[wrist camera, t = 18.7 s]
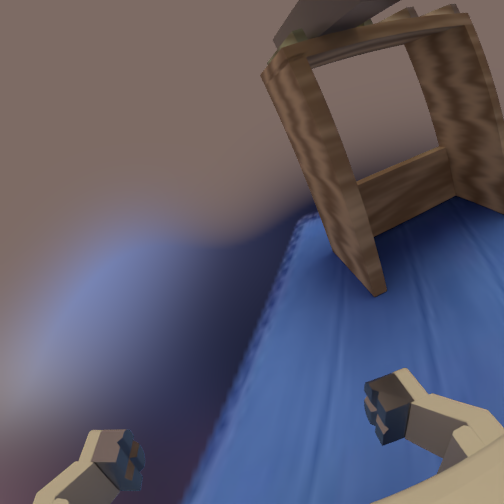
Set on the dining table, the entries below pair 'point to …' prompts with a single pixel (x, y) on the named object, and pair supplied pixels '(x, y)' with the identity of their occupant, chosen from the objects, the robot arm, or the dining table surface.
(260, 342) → the dining table surface
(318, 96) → the pine shelf
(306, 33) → the grey brown bar
